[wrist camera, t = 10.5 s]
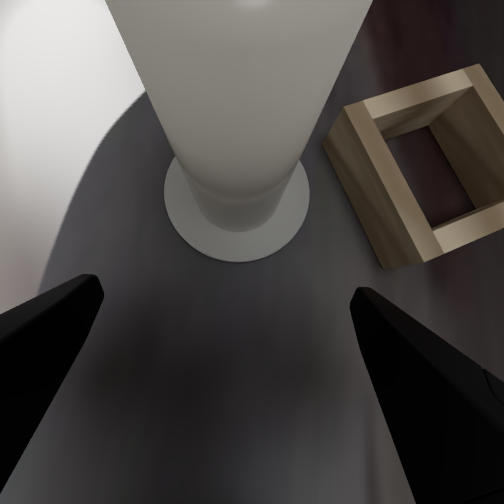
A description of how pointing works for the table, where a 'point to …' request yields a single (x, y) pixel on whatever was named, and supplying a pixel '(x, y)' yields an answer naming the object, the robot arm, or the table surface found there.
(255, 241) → the mat
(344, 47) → the jug
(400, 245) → the stand
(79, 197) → the table surface
